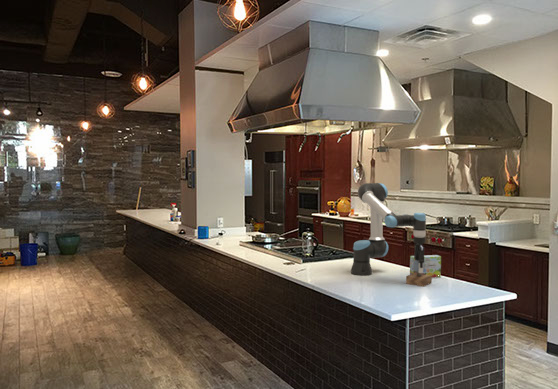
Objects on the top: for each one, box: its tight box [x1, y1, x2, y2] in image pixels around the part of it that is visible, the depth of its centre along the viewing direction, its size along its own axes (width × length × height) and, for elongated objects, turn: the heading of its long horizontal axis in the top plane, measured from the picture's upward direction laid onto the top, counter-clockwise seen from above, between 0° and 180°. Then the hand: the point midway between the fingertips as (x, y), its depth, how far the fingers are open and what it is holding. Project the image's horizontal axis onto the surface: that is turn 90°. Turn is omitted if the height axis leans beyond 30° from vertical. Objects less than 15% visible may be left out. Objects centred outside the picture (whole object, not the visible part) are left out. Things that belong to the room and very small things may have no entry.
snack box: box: [409, 254, 442, 279], centre depth 336 cm, size 21×6×15 cm, turn 105°
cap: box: [413, 260, 425, 272], centre depth 316 cm, size 7×7×6 cm
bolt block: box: [405, 271, 433, 287], centre depth 316 cm, size 12×12×13 cm
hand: (418, 271), depth 316 cm, fingers open, 8 cm apart
